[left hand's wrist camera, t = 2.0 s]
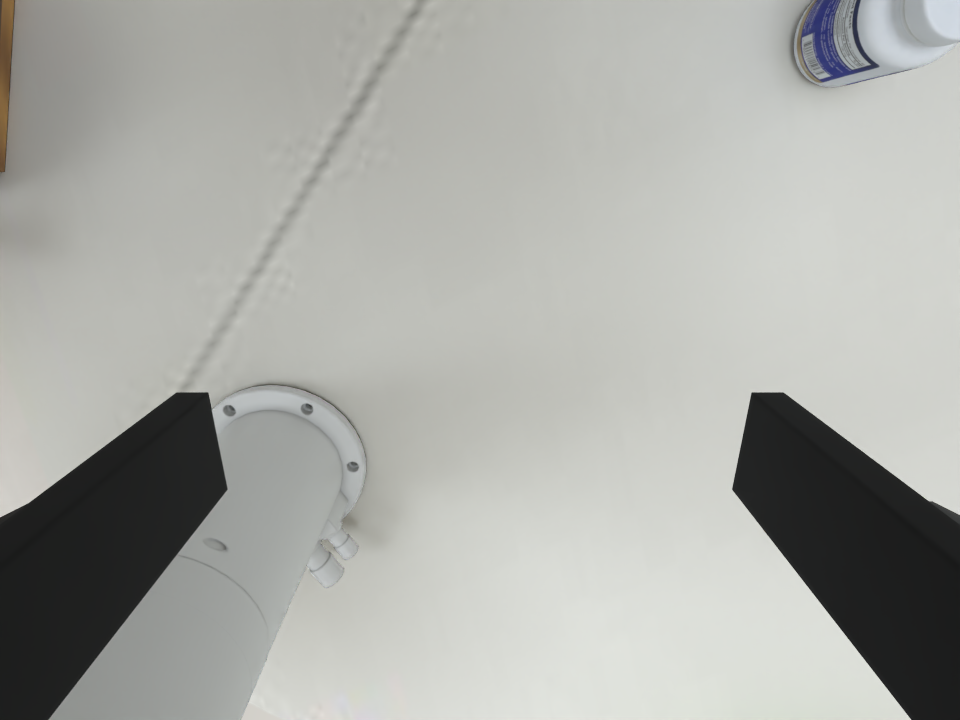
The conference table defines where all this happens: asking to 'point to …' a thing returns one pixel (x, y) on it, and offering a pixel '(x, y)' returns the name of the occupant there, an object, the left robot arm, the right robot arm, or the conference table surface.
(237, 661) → the right robot arm
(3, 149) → the cabinet
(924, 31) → the pill bottle
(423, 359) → the conference table surface
